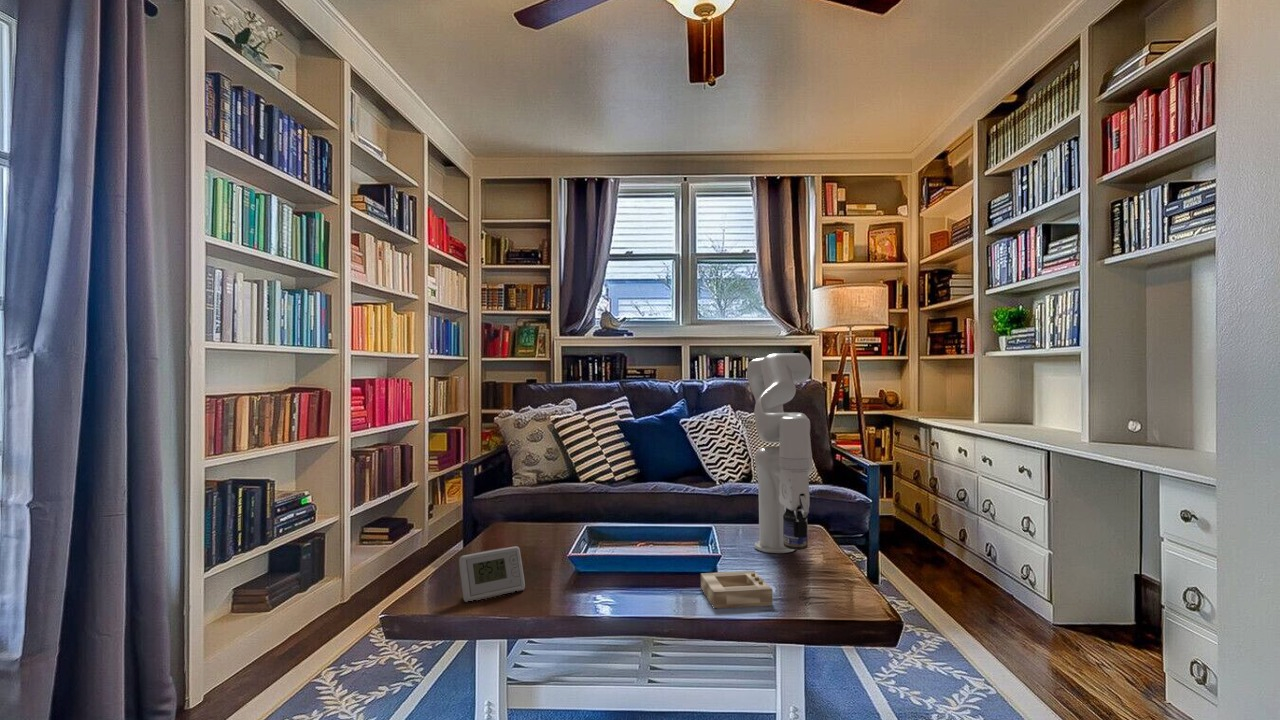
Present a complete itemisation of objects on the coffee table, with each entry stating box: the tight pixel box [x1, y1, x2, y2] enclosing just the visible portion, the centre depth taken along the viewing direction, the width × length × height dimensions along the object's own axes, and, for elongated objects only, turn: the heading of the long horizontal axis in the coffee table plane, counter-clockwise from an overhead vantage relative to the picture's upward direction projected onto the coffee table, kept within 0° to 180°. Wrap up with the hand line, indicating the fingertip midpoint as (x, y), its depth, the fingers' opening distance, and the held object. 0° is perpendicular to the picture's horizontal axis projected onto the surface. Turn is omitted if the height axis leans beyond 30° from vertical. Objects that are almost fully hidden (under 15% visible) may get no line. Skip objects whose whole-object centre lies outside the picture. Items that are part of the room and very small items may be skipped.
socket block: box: [700, 570, 774, 609], centre depth 151 cm, size 14×14×4 cm
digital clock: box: [458, 545, 526, 603], centre depth 155 cm, size 16×9×11 cm, turn 114°
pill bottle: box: [783, 507, 809, 551], centre depth 161 cm, size 6×6×11 cm
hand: (795, 532), depth 161 cm, fingers closed on pill bottle, 6 cm apart
